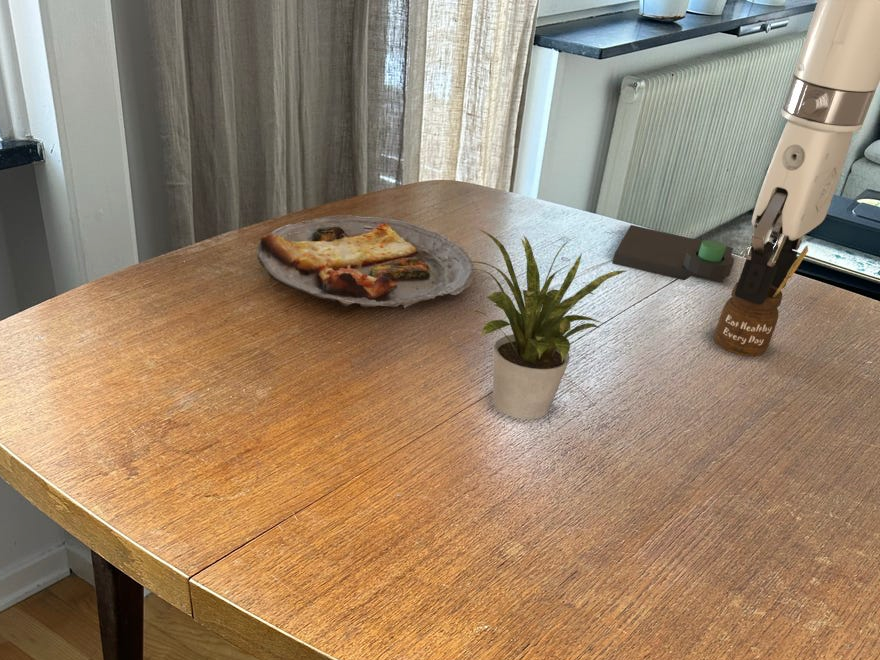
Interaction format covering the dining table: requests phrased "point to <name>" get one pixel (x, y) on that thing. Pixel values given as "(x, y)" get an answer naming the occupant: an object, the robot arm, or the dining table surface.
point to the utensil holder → (751, 319)
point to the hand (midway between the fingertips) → (759, 290)
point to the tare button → (712, 251)
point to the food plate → (365, 261)
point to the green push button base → (669, 255)
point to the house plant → (533, 337)
